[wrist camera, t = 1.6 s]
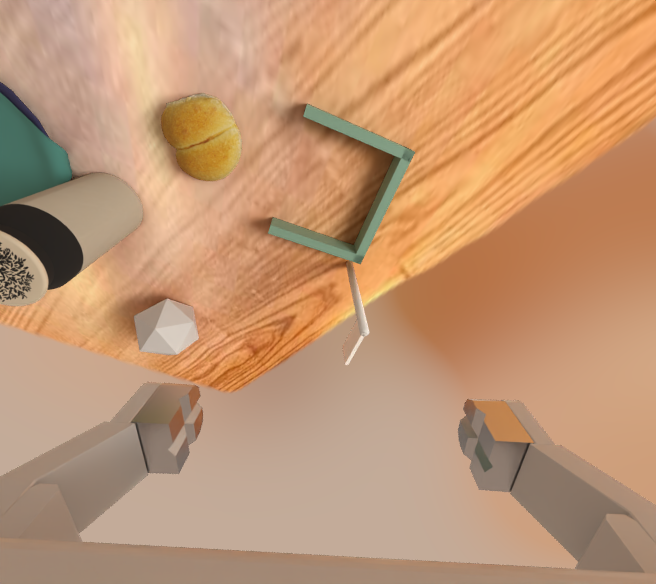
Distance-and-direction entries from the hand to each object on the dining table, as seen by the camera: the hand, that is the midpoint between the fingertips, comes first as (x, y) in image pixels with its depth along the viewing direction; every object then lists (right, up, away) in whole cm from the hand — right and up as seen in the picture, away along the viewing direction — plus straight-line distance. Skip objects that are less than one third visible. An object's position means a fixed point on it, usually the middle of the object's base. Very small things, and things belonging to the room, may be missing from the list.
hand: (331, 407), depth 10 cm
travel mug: (-28, +15, +31) cm, 45 cm away
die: (-24, 0, +41) cm, 48 cm away
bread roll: (-15, +22, +28) cm, 38 cm away
